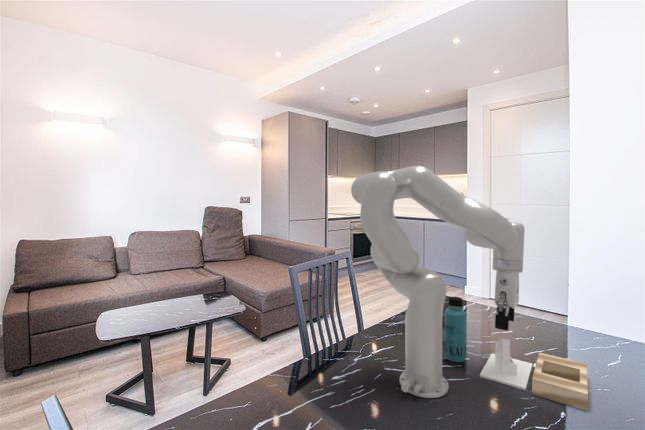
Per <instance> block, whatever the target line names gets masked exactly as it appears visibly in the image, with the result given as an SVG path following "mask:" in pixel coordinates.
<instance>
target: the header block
mask: <svg viewBox="0 0 645 430" xmlns="http://www.w3.org/2000/svg"><path fill="white" fill-rule="evenodd" d="M535 363H536V364H535V367H534V371H533V374H532V381H531V395H534V396H537V397H540V398H544V399H547V400H550V401H554V402H557V403H560V404H564V405H567V406H571V407H573V408H577V409H580V410H584V411H587V412H588V411H589V386H588V385H589V384H588V367H587V366H588V364H587V363H586V362H581V361H578V360H574V359H573V360H572V359H569V358H564V357H560V356H557V355H552V354H551V355H550V354H547V353H542V352H538V355H537V359H536V362H535Z"/></svg>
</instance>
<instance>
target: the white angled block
mask: <svg viewBox="0 0 645 430" xmlns="http://www.w3.org/2000/svg"><path fill="white" fill-rule="evenodd" d="M494 354H495V365H496V366H497V368H498V369H499V370H500V372H501V373H502V375H514V376H517V364H516V363H515V362H514V361H513V359H514V358H512V357H511V340H510V339H505V338H504V339H500V340H498V341H495V352H494Z"/></svg>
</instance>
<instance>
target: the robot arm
mask: <svg viewBox="0 0 645 430" xmlns="http://www.w3.org/2000/svg"><path fill="white" fill-rule="evenodd" d="M350 190H351V191H350V193H351V196H352V198H353V200H354V201H355V202H356V203H358V204H360V214H359V215H360V216H359V217H360V223H361V227H362V230H363V232H364V234H365V235H366V237H367V239H368V240H369V241H370V243H371V245H370V256H371V257H370V258H371V259H372V262H374V265H375V266H376V268H378V270H379V271H380V273H382V276H384V278H385V279H386V280H387V282H388V283H389V284H390V285H391V287H392V288H393V289H394V291H396V292H397V293H398V294H399V295H402V296H403V297H406V298H407V299H408V305H407V308H406V311H405V316H404V326H405V327H404V330H405V331H404V332H405V333H404V335H405V336H404V344H405V346H404V351H405V352H404V357H405V358H404V360H405V361H404V363H405V364H404V365H405V369H404V370H405V371H403V372H402V373H401V374H400V376H399V385H400V386H401V387H400V389H401V390H402V392H404V393H409V394H411V395H413V396H415V397H420V398H422V399H423V398H425V399H438V398H441V397H443V396H445V395H446V394H447V393H448V392H449V382H448V381H447V379H446V378H445V377H444V376H443V316H444V315H443V314H444V306H445V301H446V297H447V285H446V281H445V280H444V278H443V277H442V275H440V274H439V273H438V272H436V271H435V270H433V269H430V268H427V267H425V266H421V265H420V260H421V258H420V253H419V251H418V249H417V247H416V245H415V244H414V243H413V241H412V240H411V239H410V237H409V236H408V234H407V233H406V232H405V230H404V229H403V228H402V226H401V225H400V224H399V221H398V220H397V218H396V215H395V213H394V204H395V200H401V199H412V200H413V201H414V202H416V203H417V204H419V205H420V206H422V208H424V209H425V210H427V211H428V212H430V213H431V214H432V215H434V216H435V217H436V218H437V219H439V220H441V221H444V222H446V223H448V224H451V225H456V226H459V227H463V228H465V229H464V238H465V240H466V241H467V242H468V243H469V244H470V245H473V246H475V247H479V248H484V249H491V250H492V251H493V252H492V268H491V269H492V270H494V271H496V274H495V284H494V285H495V287H494V304H495V305H496V309H495V316H494V317H495V321H494V328H495V329H498V330H501V331H506V332H508V330H509V328H510V327H509V323H510V322H514V321H515V308H516V307H517V306H518V304H519V302H520V273H521V274H522V273H523V270H524V249H525V225H524V224H523V223H521V222H515V221H514V222H513V221H509V220H508V219H507V218H506V217H505V216H503V215H502V214H501V213H499V212H498V211H496V210H495V209H493V208H491V207H489V206H487V205H485V204H482V203H480V202H479V201H476V200H475V199H472V198H471V197H468V196H466V195H463V193H462V194H461V193H460V192H459V191H457V190H456V189H454V187H452V186H451V185H449V184H448V183H447V182H445V180H443V179H442V178H440V177H439V176H438V175H437V174H436V173H434V172H433V171H431V169H429V168H428V167H426V166H423V165H422V166H421V165H411V166H408V167H404V168H400V169H399V168H398V169H395V170H391V171H388V170H387V171H382V170H381V171H374V172H370V173H366V174H363V175H360V176H358V177H357V178H356V179H355V180H354V181H353V182H352V184H351V187H350Z"/></svg>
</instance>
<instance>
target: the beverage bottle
mask: <svg viewBox="0 0 645 430" xmlns="http://www.w3.org/2000/svg"><path fill="white" fill-rule="evenodd" d="M463 302H464V301H463V298H462V297H459V296H449V297H448V301H447V304H448V305H449V307H447V308H445V310H444V323H443V325H444V327H443V328H444V329H443V335H444V336H443V339H444V340H443V356H444V357H445V359H447V360H448V361H451V362H458V363H459V362H460V363H461V362H464V361H465V360H466V358H467V312H466V311H465V310H464V309H463V308H461V307H463V306H464V303H463Z"/></svg>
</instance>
